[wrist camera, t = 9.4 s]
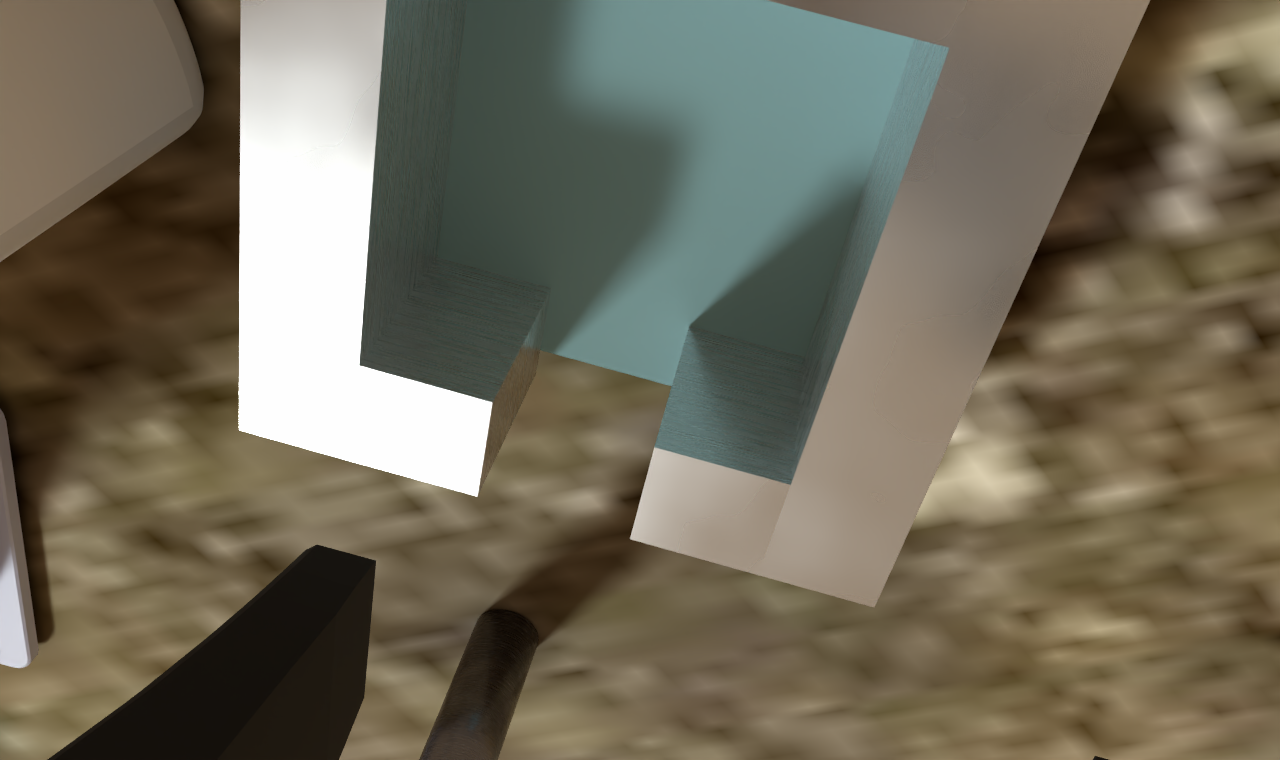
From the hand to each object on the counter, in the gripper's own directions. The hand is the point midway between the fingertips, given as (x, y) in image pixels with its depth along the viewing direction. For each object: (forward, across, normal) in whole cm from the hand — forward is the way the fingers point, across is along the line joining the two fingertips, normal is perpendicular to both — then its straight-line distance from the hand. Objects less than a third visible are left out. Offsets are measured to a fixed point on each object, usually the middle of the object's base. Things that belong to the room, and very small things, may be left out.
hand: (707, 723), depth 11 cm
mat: (+9, +3, -2) cm, 10 cm away
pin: (+9, +3, +10) cm, 14 cm away
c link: (+9, +2, -2) cm, 9 cm away
